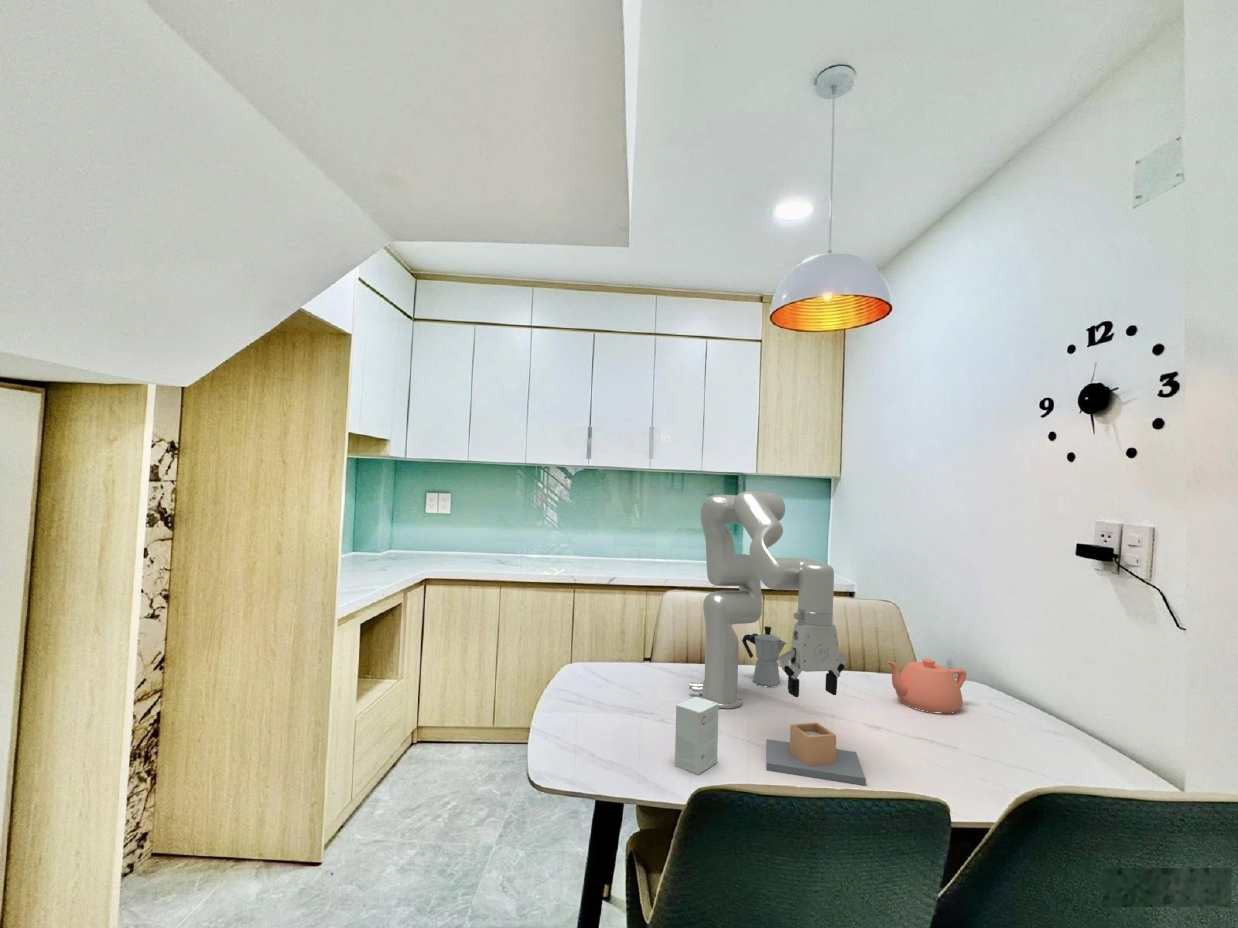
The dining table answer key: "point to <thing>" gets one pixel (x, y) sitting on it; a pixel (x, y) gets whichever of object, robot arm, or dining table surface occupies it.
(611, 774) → the dining table surface
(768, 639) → the coffee maker
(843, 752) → the grey plate with peg
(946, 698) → the teapot
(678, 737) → the small box
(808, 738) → the collar
